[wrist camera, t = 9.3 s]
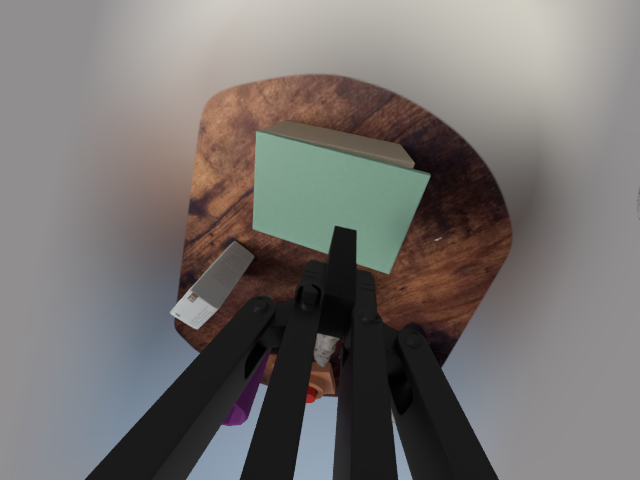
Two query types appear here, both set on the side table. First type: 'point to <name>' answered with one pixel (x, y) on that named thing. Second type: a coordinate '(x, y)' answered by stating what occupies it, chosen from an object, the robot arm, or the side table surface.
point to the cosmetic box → (213, 286)
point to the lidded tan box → (344, 142)
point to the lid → (333, 197)
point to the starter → (322, 379)
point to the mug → (246, 398)
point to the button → (311, 394)
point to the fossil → (324, 348)
